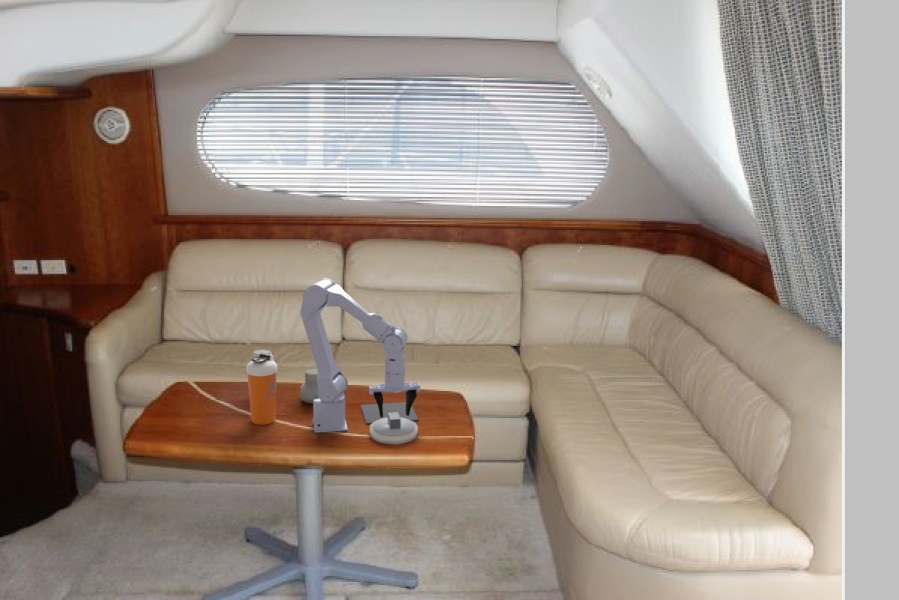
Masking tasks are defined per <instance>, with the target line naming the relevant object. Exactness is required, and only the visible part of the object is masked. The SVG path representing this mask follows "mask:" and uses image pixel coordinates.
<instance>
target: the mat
mask: <svg viewBox="0 0 899 600" xmlns="http://www.w3.org/2000/svg"><path fill="white" fill-rule="evenodd" d="M360 408H361V412H362V415H363V418H364V421H365V423H366V425H371V424H372V423H373V422H375V421H377V420H379V419H382V418H380V414H379V408H378V405H377V403H371V404H360ZM392 412H398V414H399V416H400V417H401V418H405V419H408V420H410V421H413V422H417V421H420V420H419V417H418V416H417V413H416V411H415V409H414V407H413V406H412V407H411V410H410V414H409V416H407V415H406V401H404V402H386V403H383V418H387V417H388V413H392Z"/></svg>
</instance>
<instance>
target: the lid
mask: <svg viewBox="0 0 899 600" xmlns="http://www.w3.org/2000/svg"><path fill="white" fill-rule="evenodd" d="M413 422H414V421H413ZM413 422H412V421H410V420H408V419H405V418H401V417H400V416H399V414H398V412H392V413H388V417H387V418H382V419H379V420H377V421H376V422H375V423H374V424H373V429H374V430H375V431H376V432H377V433H379V434H382V435H386V436H402V435H406V434H409V433H411V432H412V431H413V430H414V427H415V425H414V423H415V422H414V423H413Z"/></svg>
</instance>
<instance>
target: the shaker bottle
mask: <svg viewBox="0 0 899 600" xmlns="http://www.w3.org/2000/svg"><path fill="white" fill-rule="evenodd" d="M245 370H246V375H247V385H248V386H247V387H248V398H249V408H250V409H249V411H250V421H251V423H253V424H254V425H258V424H259V426H261V425H263V426H264V425H270V424H272V423H275V421H276V414H277V413H276V411H277V410H276V408H277V407H276V406H277V372H278V364H277V362H275V359H274V355H273V354H272V355H267V354H259V356H258V357H255V358H253V357H252V358H251V360H250V361H249V362H248V363H247V365H246V368H245Z"/></svg>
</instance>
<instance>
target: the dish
mask: <svg viewBox="0 0 899 600" xmlns="http://www.w3.org/2000/svg"><path fill="white" fill-rule="evenodd" d="M375 422H376V421H375ZM375 422H373V423H372V424H369V436H370V437H369V438H371V439H372V440H373V441H375V442H378V443H380V444H385V445H402V444H407V443H411V442H412V441H414V440H415V439H417V437H418V436H419V435H418V433H419V426H418V425H417V423H416V422H415V421H412V422H413V423H414V425H415V427H414V430H413V431H412V432H411V433H409V434H406V435H402V436H386V435H382V434H379V433H377V432H376V431H375V430H374V429H373V424H374V423H375Z"/></svg>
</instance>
